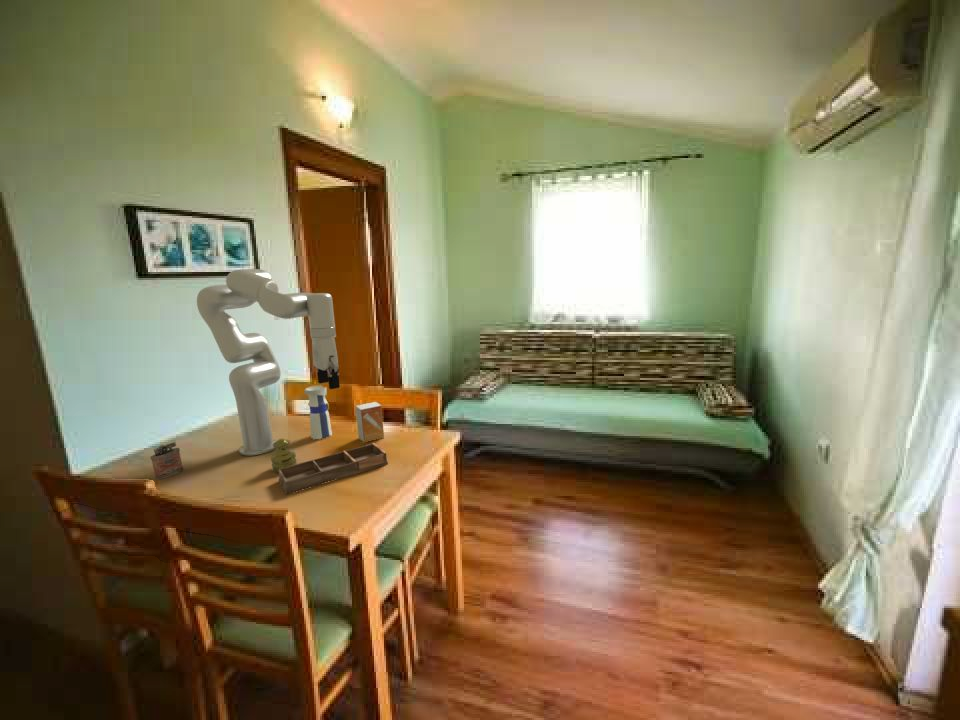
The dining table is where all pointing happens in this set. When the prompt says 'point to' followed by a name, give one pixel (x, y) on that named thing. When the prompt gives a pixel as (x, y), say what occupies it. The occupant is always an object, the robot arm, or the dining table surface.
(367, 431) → the small box
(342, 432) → the dining table surface
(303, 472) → the wooden compartment tray
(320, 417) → the water bottle
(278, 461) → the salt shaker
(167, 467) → the lighter
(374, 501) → the dining table surface
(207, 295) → the robot arm
